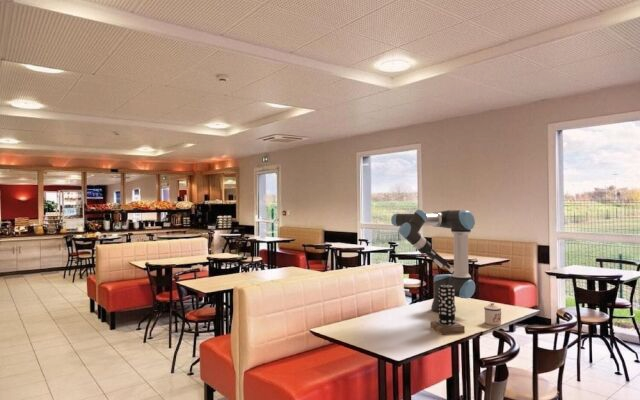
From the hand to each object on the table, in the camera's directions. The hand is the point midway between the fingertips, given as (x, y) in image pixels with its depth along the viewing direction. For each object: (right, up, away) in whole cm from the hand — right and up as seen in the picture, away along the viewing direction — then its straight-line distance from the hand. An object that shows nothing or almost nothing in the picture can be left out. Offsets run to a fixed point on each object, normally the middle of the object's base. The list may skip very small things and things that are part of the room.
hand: (447, 268), depth 242 cm
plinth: (-4, -32, -11) cm, 34 cm away
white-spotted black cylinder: (-4, -28, -11) cm, 30 cm away
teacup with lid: (+28, -32, +2) cm, 42 cm away
